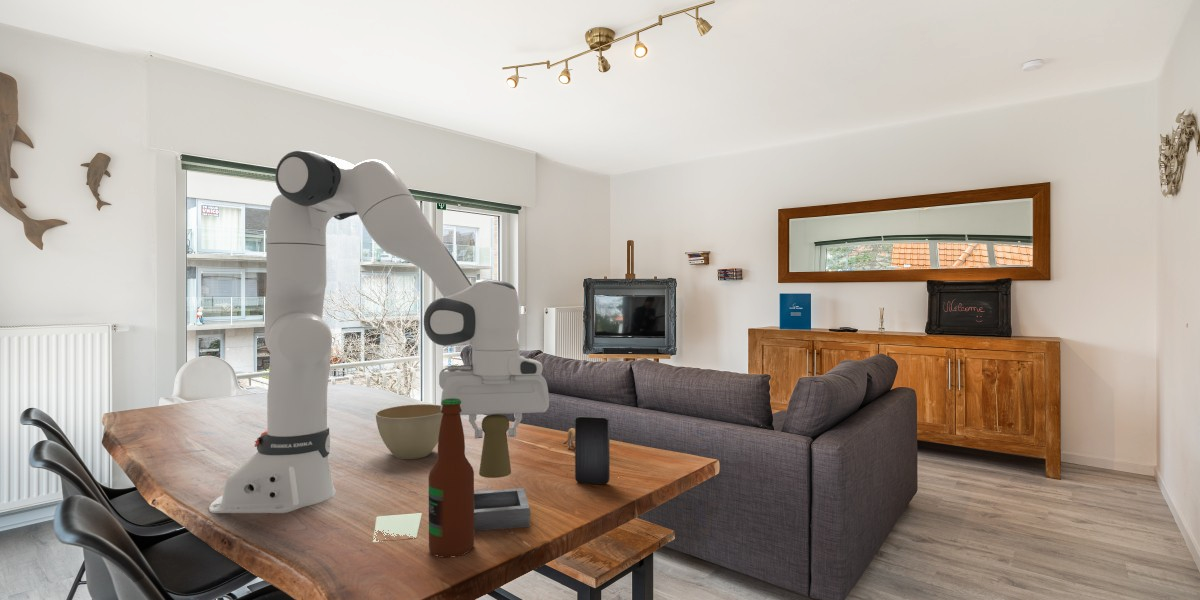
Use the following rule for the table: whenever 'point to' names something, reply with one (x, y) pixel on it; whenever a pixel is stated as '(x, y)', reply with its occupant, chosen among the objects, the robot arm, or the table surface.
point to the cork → (495, 447)
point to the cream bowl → (410, 429)
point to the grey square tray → (501, 509)
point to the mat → (398, 524)
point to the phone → (592, 450)
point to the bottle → (451, 488)
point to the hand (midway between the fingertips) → (495, 437)
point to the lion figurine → (570, 434)
